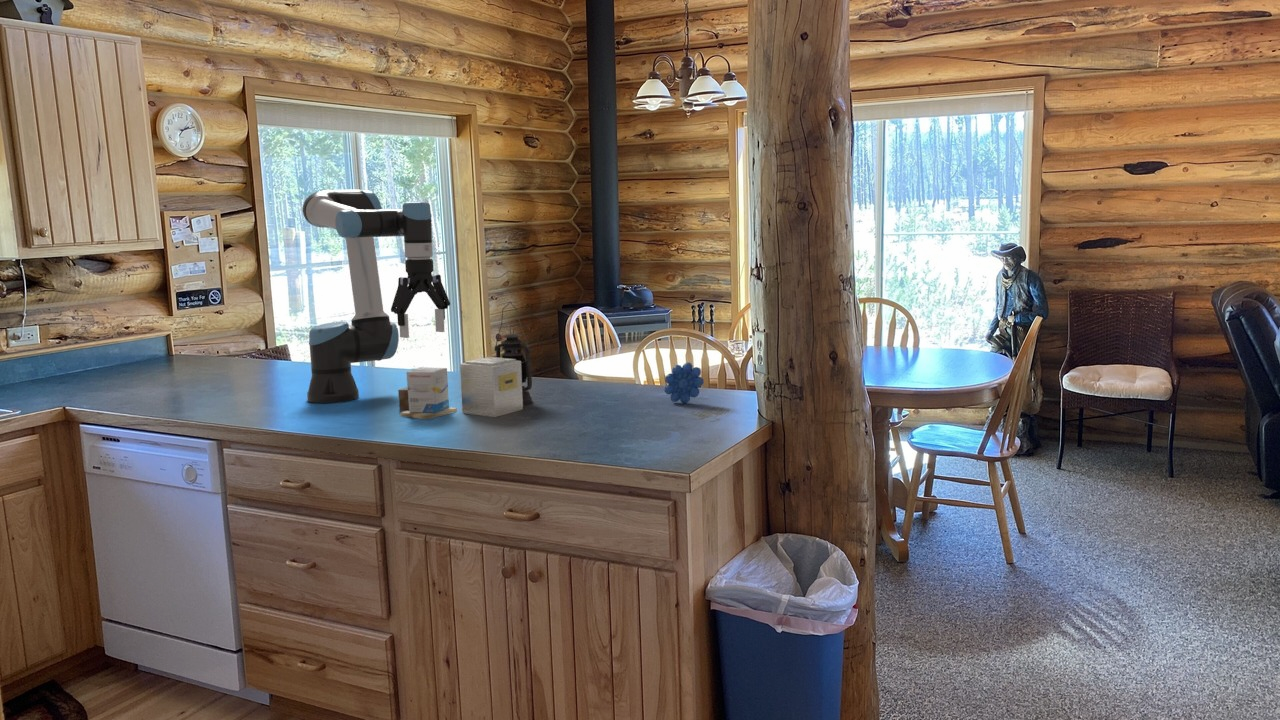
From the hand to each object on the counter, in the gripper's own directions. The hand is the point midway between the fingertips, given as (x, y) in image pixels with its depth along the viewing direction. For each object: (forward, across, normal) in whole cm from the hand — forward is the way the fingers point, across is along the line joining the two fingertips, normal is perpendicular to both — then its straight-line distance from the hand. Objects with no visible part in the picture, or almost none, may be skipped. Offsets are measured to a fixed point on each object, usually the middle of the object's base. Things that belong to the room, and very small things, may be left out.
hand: (422, 334), depth 267 cm
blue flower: (+22, +46, -58) cm, 77 cm away
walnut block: (+22, +2, +8) cm, 24 cm away
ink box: (+21, -1, -2) cm, 22 cm away
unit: (+22, +10, -16) cm, 29 cm away
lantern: (+22, +23, -13) cm, 35 cm away
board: (+22, -1, -2) cm, 22 cm away
